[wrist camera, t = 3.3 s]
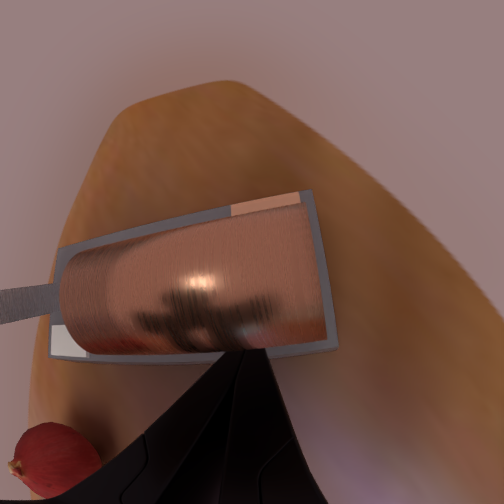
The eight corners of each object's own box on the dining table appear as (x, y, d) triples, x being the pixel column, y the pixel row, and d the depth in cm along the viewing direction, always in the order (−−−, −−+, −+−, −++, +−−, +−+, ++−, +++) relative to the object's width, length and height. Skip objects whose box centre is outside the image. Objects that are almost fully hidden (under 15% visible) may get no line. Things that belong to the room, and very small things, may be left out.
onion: (105, 503, 14) (25, 528, 7) (61, 446, 16) (-19, 451, 9) (140, 467, 15) (49, 495, 7) (89, 405, 17) (-2, 403, 10)
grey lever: (88, 308, 16) (-59, 343, 6) (49, 312, 16) (-75, 338, 7) (82, 275, 16) (-68, 291, 6) (44, 282, 16) (-82, 297, 7)
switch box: (336, 349, 15) (339, 346, 12) (77, 362, 18) (45, 357, 15) (315, 215, 18) (311, 185, 15) (83, 262, 22) (55, 247, 19)
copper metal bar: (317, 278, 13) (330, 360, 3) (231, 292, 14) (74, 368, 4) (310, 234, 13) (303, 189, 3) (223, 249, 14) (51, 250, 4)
